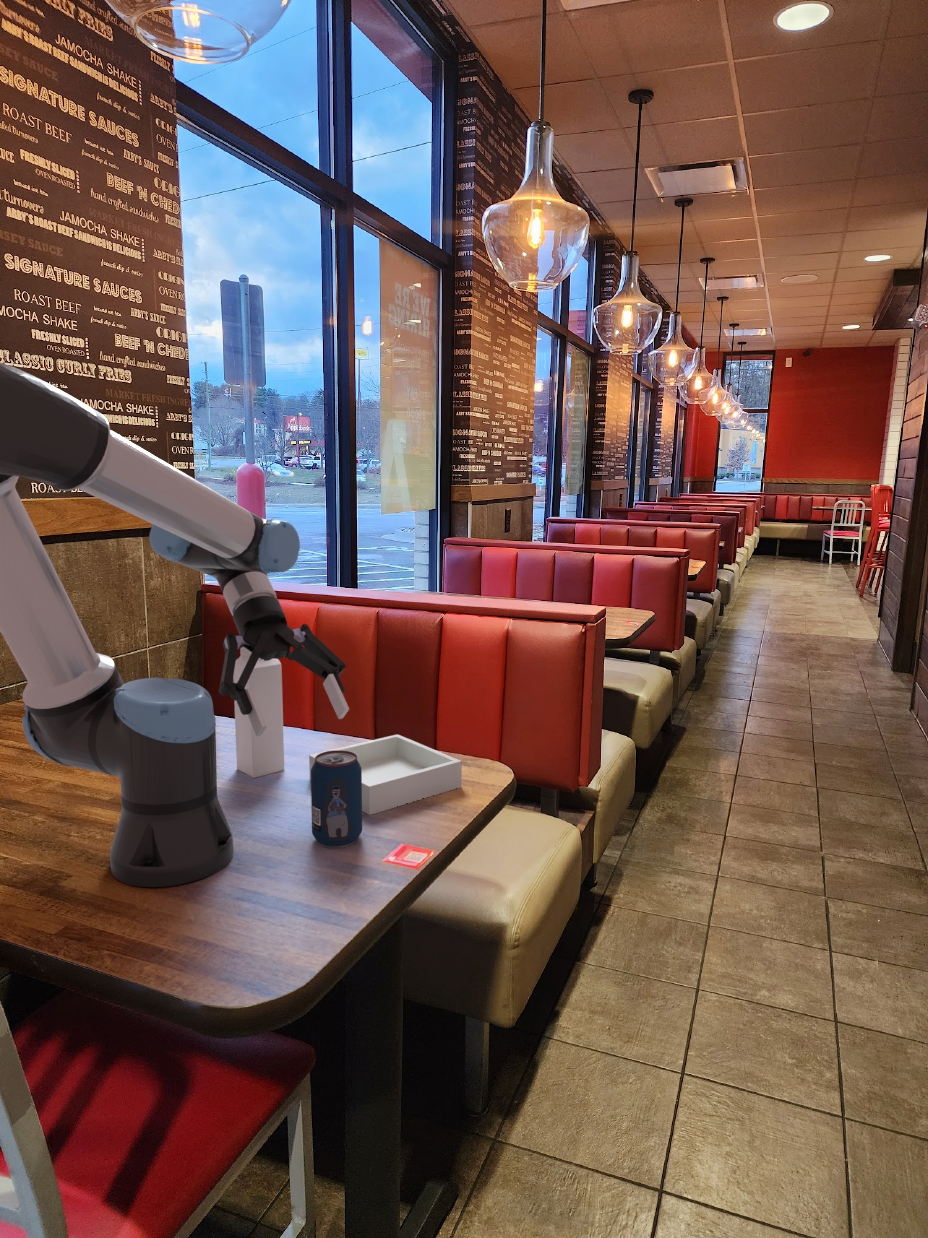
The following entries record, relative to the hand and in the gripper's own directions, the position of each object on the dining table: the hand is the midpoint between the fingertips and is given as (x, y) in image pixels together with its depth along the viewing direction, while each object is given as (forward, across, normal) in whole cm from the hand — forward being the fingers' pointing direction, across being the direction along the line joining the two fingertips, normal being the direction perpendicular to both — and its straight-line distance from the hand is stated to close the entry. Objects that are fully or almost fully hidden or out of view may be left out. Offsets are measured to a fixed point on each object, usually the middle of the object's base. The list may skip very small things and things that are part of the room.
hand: (304, 722), depth 116 cm
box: (+8, -16, -12) cm, 22 cm away
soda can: (+17, +1, -3) cm, 18 cm away
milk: (-5, -4, -26) cm, 27 cm away
